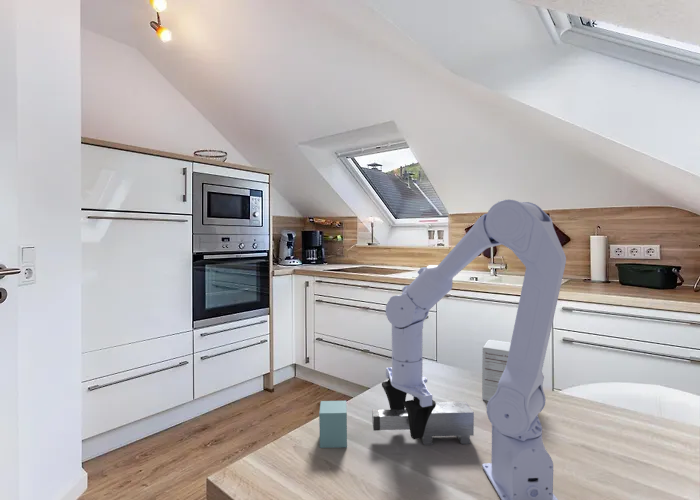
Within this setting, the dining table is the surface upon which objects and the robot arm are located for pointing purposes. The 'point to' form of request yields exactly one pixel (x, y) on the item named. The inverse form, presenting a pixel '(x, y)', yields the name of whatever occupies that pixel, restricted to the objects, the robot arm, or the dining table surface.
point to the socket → (333, 424)
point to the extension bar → (390, 420)
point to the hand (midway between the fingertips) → (407, 427)
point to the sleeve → (450, 422)
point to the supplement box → (493, 366)
